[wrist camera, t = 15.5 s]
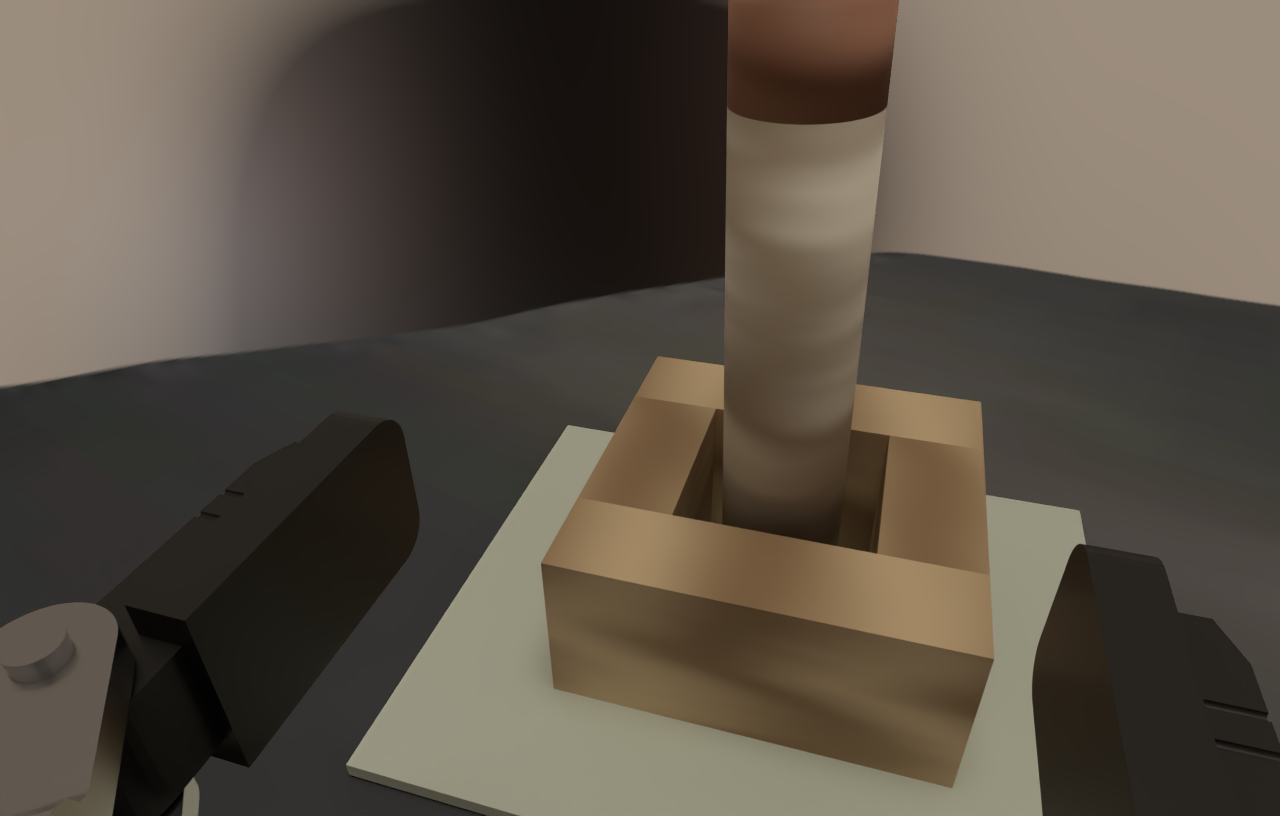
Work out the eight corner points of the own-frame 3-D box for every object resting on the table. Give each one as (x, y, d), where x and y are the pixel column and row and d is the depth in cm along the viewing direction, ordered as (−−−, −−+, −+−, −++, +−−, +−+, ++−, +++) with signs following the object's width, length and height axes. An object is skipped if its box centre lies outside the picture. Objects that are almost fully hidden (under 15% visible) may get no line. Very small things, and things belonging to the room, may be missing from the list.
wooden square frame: (952, 517, 28) (980, 401, 25) (952, 788, 20) (994, 659, 17) (657, 465, 30) (658, 356, 28) (554, 688, 22) (540, 563, 20)
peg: (837, 565, 26) (902, -18, 17) (825, 645, 23) (895, 9, 15) (733, 548, 27) (745, -17, 18) (710, 624, 24) (711, 8, 15)
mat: (1076, 519, 28) (1079, 510, 28) (1166, 1016, 16) (1173, 1007, 16) (568, 433, 33) (567, 425, 33) (349, 774, 21) (345, 765, 21)
